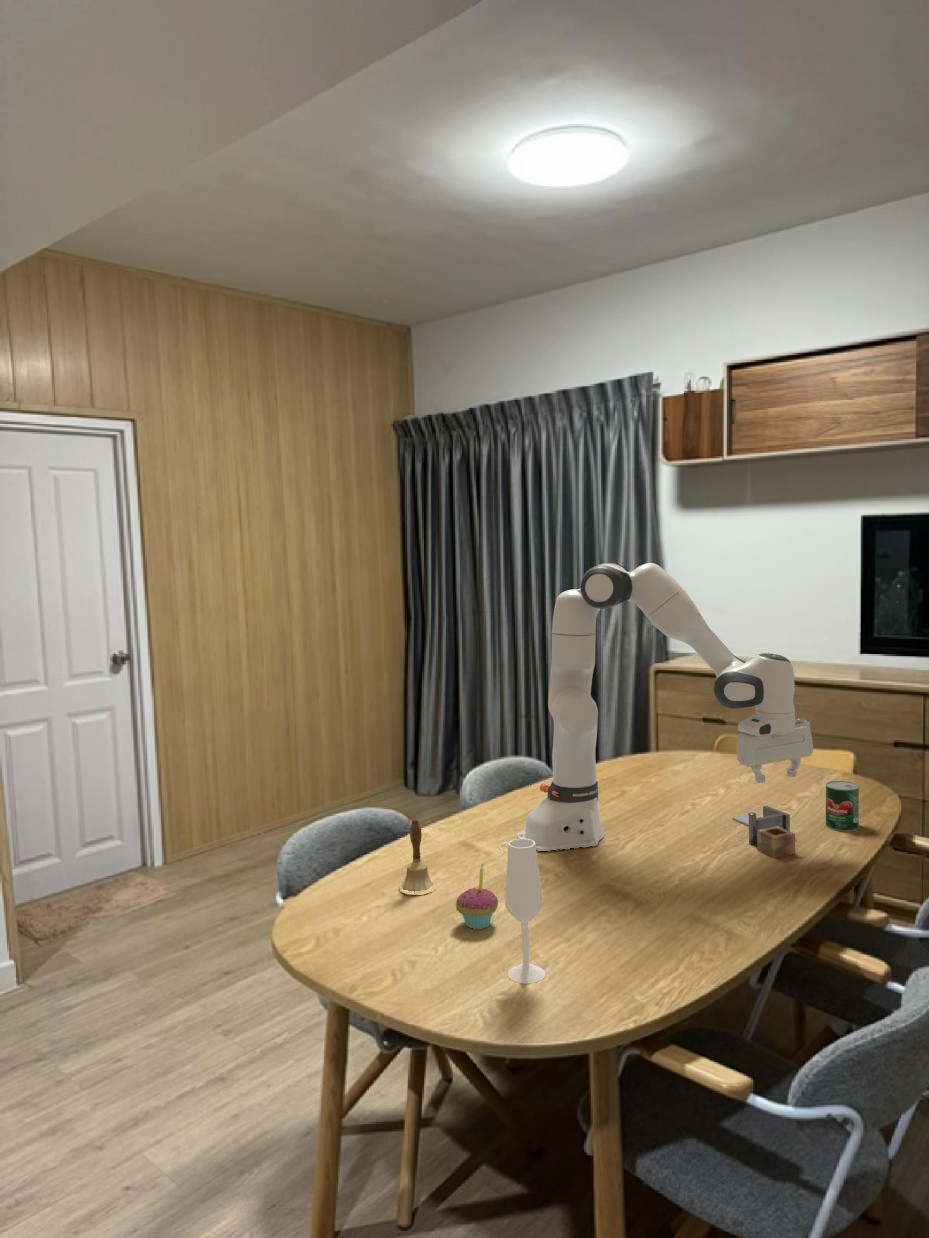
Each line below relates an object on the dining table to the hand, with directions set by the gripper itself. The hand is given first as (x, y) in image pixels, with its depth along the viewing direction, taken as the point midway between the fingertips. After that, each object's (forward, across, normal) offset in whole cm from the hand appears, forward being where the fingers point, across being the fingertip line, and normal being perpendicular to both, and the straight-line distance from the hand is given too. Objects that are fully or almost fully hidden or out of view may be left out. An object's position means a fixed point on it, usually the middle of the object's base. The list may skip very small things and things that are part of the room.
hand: (776, 779), depth 203 cm
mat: (+18, -10, -20) cm, 29 cm away
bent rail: (+18, -4, -10) cm, 21 cm away
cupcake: (+18, +79, +3) cm, 81 cm away
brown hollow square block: (+18, 0, 0) cm, 18 cm away
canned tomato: (+18, -27, -6) cm, 33 cm away
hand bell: (+18, +84, -20) cm, 88 cm away
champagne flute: (+18, +79, +25) cm, 85 cm away
